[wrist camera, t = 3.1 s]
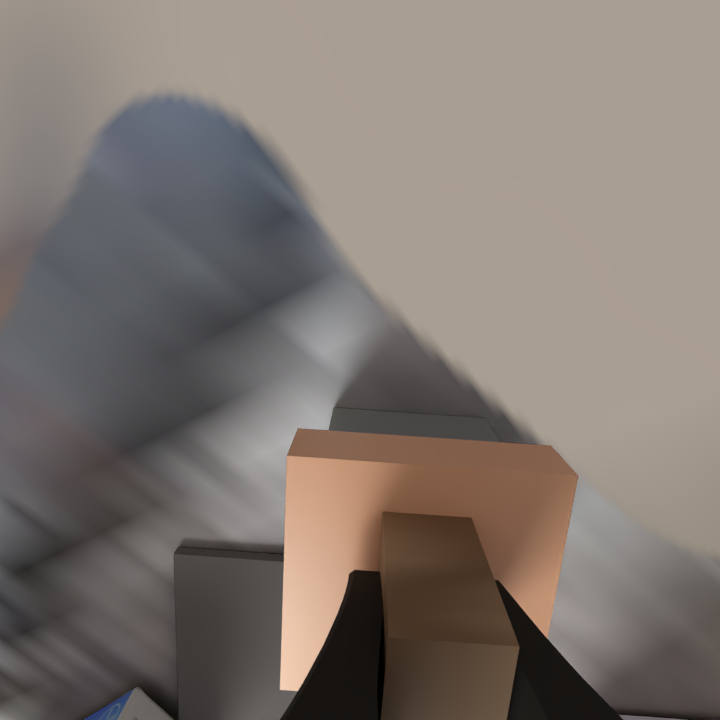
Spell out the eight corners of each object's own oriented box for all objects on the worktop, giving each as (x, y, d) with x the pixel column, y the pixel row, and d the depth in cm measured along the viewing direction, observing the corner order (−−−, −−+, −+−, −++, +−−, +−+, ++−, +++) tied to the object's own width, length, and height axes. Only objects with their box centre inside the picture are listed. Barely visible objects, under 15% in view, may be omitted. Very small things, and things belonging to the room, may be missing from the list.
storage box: (484, 418, 15) (511, 457, 13) (466, 550, 17) (487, 614, 14) (333, 407, 15) (325, 444, 13) (326, 540, 17) (317, 602, 14)
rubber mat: (388, 562, 17) (389, 569, 16) (373, 727, 19) (373, 738, 18) (178, 546, 17) (173, 554, 16) (182, 714, 19) (178, 724, 18)
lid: (550, 445, 12) (682, 589, 7) (514, 653, 13) (600, 896, 8) (298, 428, 12) (245, 558, 7) (290, 637, 13) (243, 869, 8)
